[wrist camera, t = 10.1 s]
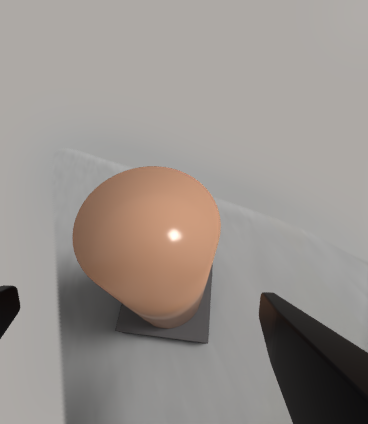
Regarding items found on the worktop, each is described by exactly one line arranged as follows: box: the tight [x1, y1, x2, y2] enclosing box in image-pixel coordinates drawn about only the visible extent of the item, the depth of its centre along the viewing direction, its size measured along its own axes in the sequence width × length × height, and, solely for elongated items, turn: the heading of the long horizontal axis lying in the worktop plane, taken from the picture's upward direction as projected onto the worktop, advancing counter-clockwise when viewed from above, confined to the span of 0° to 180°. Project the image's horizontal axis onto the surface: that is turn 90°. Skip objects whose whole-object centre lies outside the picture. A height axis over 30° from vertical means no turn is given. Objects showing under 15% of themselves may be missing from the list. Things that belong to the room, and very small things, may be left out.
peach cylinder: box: [73, 166, 221, 329], centre depth 15 cm, size 6×6×12 cm
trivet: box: [115, 263, 213, 343], centre depth 21 cm, size 8×8×2 cm
